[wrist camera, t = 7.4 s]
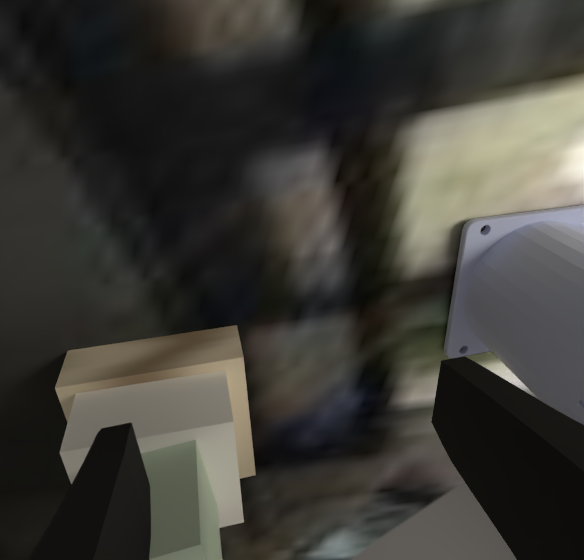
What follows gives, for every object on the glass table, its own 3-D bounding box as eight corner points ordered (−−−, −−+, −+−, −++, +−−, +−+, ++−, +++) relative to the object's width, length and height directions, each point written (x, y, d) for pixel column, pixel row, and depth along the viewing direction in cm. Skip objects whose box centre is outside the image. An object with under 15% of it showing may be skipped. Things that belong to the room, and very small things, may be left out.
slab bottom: (235, 319, 22) (243, 357, 19) (247, 430, 25) (255, 475, 23) (70, 343, 20) (54, 388, 18) (107, 457, 24) (99, 508, 21)
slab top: (225, 369, 19) (233, 421, 17) (235, 465, 22) (244, 522, 20) (75, 393, 18) (59, 452, 16) (107, 491, 21) (97, 554, 18)
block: (195, 439, 17) (200, 544, 13) (217, 506, 19) (226, 612, 15) (83, 468, 16) (59, 585, 13) (118, 533, 18) (105, 650, 15)
